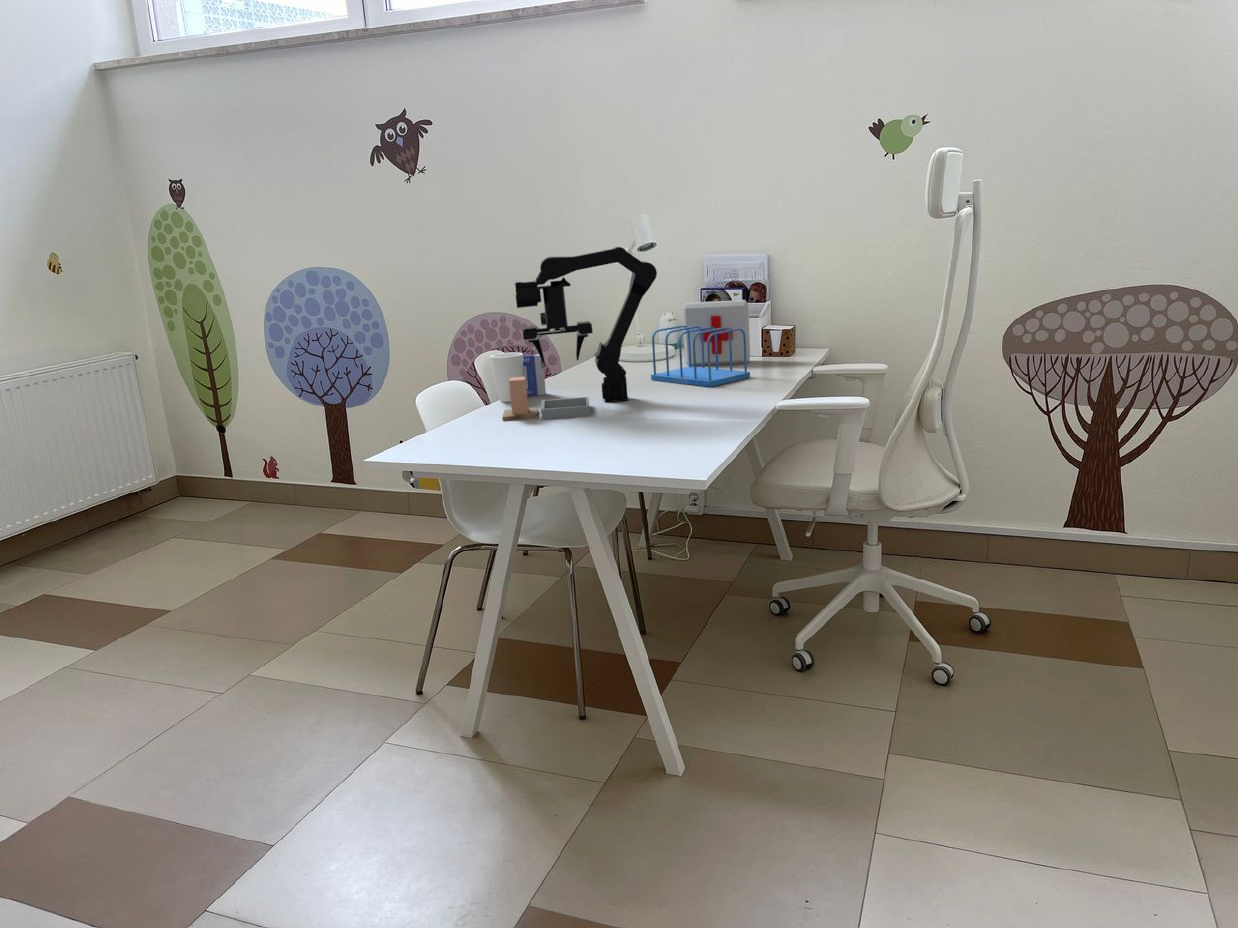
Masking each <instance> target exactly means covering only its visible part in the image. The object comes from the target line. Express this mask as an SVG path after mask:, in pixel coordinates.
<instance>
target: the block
mask: <svg viewBox="0 0 1238 928" xmlns="http://www.w3.org/2000/svg"><path fill="white" fill-rule="evenodd" d="M509 384H510V395H511V409H512V415H515V414H528V410H529V409H528V408H529V400H528V399H529V398H528V396H527V388H526V377H512V378H510V380H509Z"/></svg>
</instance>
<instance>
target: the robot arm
mask: <svg viewBox="0 0 1238 928" xmlns="http://www.w3.org/2000/svg"><path fill="white" fill-rule="evenodd" d="M614 263H618V264H620V265H621V266H623V267H624V268H625V269H627V270H628V271H629V272H631V278H630V282H629V286H628V287H629V289H628V293H627V294H626V296H625V299H624V302H623V304H622V307H621V309H620V311H619V314H618V316H617V318H616V321H615V323H614V325H613V328H612V330H611V332H610V334H609V337H608V338H607V340H606V341H605V343H602V341H600V342H599V344H598V348H597V351H596V352H595V353H594V354H593V355H594V357H595V359H594V362H595V366H596V369H597V370H598V371H599V372H600V373H601V374H602V375H604V376H603V377H602V380H603V382H601V394H602V395H601V396H602V400H604V402H605V403H608V402H610V403H611V402H621V401H624V402H625V401H629V396H628V387H627V386H628V385H627V376H626V375H627V371H626V370H625V368H624V367H623V366H622V365H621V364H619V362H620V357H621V353H622V346H623V343H624V341H625V338H626V336H627V333H628V331H629V329H630V327H631V324H632V322H633V320H634V317H635V315H636V313H637V310H638V308H639V306H640V303H641V301H642V299H643V297H644V295H645V294H646V293H647V292H648V290H649V289H650V288H651V287H652V285H653V283H654V281H655V280H656V278H657V275H658V272H657V271H658V270H657V269H656V266H655V265H654V264H652V263H651V262H648V261H644V260H643V261H641V260H640V259H638V258H637V257H635V256H634V255H632V254H631V253H630V252H628V251H627V250H626V249H625V248H624V247H621V246H615V247H614V248H610V249H604V250H600V251H594V252H589V253H583V254H580V255H573V256H547V257H545V258H544V259H542V261H541V263H540V266H539V267H540V268H539V269H540V271H539V273H538V275H537V276H536V277H535V280H533V281H523V282H522V281H517V282H515V283H514V286H515V287H514V288H515V301H516V308H517V309H523V308H531V307H532V308H533V307H538V304H539V303H542V296H543V307H544V312H539V314H540V316H539V317H540V324H541V326H546V327H544V328H543V327H542V328H538V326H537V325H534V326H525V327H523V329H522V339H523V340H528V343H532V344H533V346H534V347H535V349H536V351H537V353H538V354H539V355H540V357H541V360H542V362H543V365H544V364H545V356H544V351H543V349H542V348H543V347H542V343H541V339H540V338H541V337H540V336H546V335H547V336H548V335H549V336H550V335H557V334H566V333H568V334H569V333H575V332H576V345H575V346H576V348H575V349H576V350H575V351H576V352H575V353H576V354H575V357H576V361H579V359H580V353H581V350H582V349H581V348H582V347H583V346H582V345H583V343H584V341H585V338H588V337H589V334H593V324H592V323H591V322H590V320H586V321H576V324H575V325H568V318H567V308H566V305H567V304H566V298H565V297H566V295H565V287H570V286H571V285H572V284H571V282H569V281H568V280H567V279H566V278H565V277H564V276H566V275H569V274H571V273H573V272H576V271H580V270H585V269H590V268H596V267H599V266H604V265H605V266H606V265H609V264H614ZM561 277H562V278H561ZM559 278H561V279H560V280H556V279H559ZM550 280H552V281H550ZM548 281H550V282H549V283H550V284H548V285H545V284H546V283H547V282H548ZM541 290H542V294H541ZM541 295H542V296H541Z"/></svg>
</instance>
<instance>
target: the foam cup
mask: <svg viewBox="0 0 1238 928" xmlns="http://www.w3.org/2000/svg"><path fill="white" fill-rule="evenodd" d="M523 355H524V353H523V352H516V351H515V352H514V351H513V352H512V351H511V352H501V353H496V354H492V355H489V362H490V365H491V369H492V371H493V377H494V381H495V385H496V390H497V393H498V397H499V401H500V402H503V403H505V402H506V403H509V402H511V395H510V384H509V380H510V378H512V377H523V362H524V359H523Z"/></svg>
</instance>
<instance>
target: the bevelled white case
mask: <svg viewBox="0 0 1238 928" xmlns="http://www.w3.org/2000/svg"><path fill="white" fill-rule="evenodd" d="M749 307H750V306H749V302H747V300H746V299H737V300H718V301H697V302H696V301H695V302H686V303H685V304H684V305H683V307H682V308H681V310H682V311H681V312H682V326H687V327H694V326H699V327H700V328H706V327H713V328H715V329H718V328H728V329H729V330H732V329H738V328H740V329H742V330H743V331H744V332H745V336H746V362H747V363H748V362H749V361H750V359H751V346H750V345H751V344H750V343H751V340H750V338H751V337H750V313H749V312H750V311H749V310H750V309H749ZM683 328H684V327H682V329H683ZM695 329H698V328H694V329H689V330H695ZM707 330H712V329H706V330H702V331H707ZM682 331H683V332H685V331H687V330H682ZM721 331H726V330H725V329H724V330H718V331H716V332H721ZM683 332H682V333H683ZM698 332H701V331H695V332H690V348H691V367H694V357H693V338H694V336H695V335H696V334H697V333H698ZM712 333H714V331H713V332H708V333H703V342H704V366H708V350H707V341H708V338H709V336H710V335H711V334H712ZM730 333H731V346H732V365H738V364H739V365H740V364H744V340H743V333H742V332H741V331H740V330H738V331H732V332H730ZM683 345H684V346H683V347H684V363H685V364H686V365H687V367H689V348H688V333H685V334H684V335H683ZM709 345H710V365H712V366H714V365H715V366H716V351H715V335H713V336H712V337H711V338H710V344H709ZM717 347H718V366H719V365H730V351H729V334H728V332H726V333H721V334H717ZM695 354H696V366H702V343H701V334H699V335H698V336H697V337H696V339H695Z"/></svg>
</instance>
